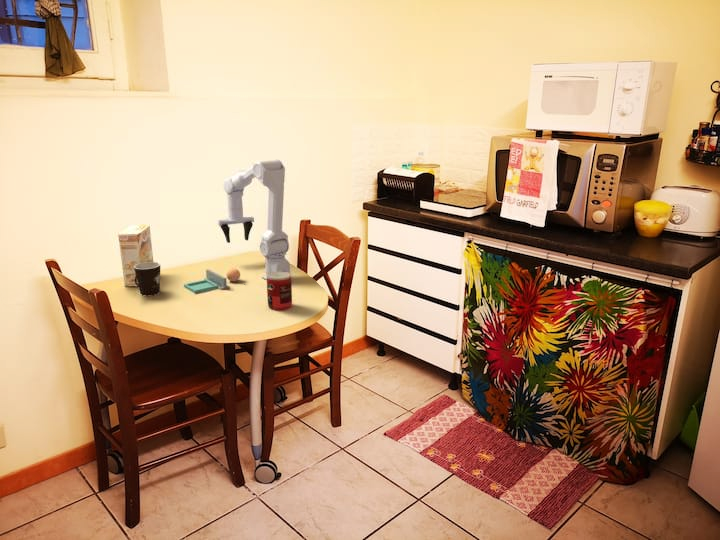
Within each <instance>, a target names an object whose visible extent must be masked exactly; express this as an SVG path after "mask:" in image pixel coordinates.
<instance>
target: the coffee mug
mask: <svg viewBox="0 0 720 540" xmlns="http://www.w3.org/2000/svg"><path fill="white" fill-rule="evenodd" d="M134 270H135V274H136V276H135V284H136V285H137V286H136V287H138V289H139V293H140V295H141V294H142V295H141V296H143V295H146V296H145V297H149V296H148V295H152V296H155V294H156V295H158V293H159V292H160V293H161V263H160V262H156V261H153V262H144V263H139V264H137V265H135V266H134ZM137 282H138V283H137ZM160 293H159V294H160Z"/></svg>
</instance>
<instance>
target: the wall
mask: <svg viewBox="0 0 720 540" xmlns="http://www.w3.org/2000/svg"><path fill="white" fill-rule="evenodd" d="M205 274H206V275H205V276H206V278H204V279H203V280H206V279H208V280H209V281H211V282H213V283H215V284H217V285H218V287H219V290H221V291H224V290H227V289H230V286H229V285H227V284H228V282H227V277H224V276H223V275H220V274H219V273H217V272H215V271H213V270H211V269H205Z"/></svg>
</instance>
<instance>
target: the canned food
mask: <svg viewBox="0 0 720 540" xmlns="http://www.w3.org/2000/svg"><path fill="white" fill-rule="evenodd" d="M291 278H292V273H291V272H290V273H288V272H282V271H277V272H271V273H268V274H267V280H266V293H267V297H266V298H267V306H268V308H269V309H270V310H273V311H286V310H289V309H291V308H292V305H293V293H292V292H293V287H292V279H291Z"/></svg>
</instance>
